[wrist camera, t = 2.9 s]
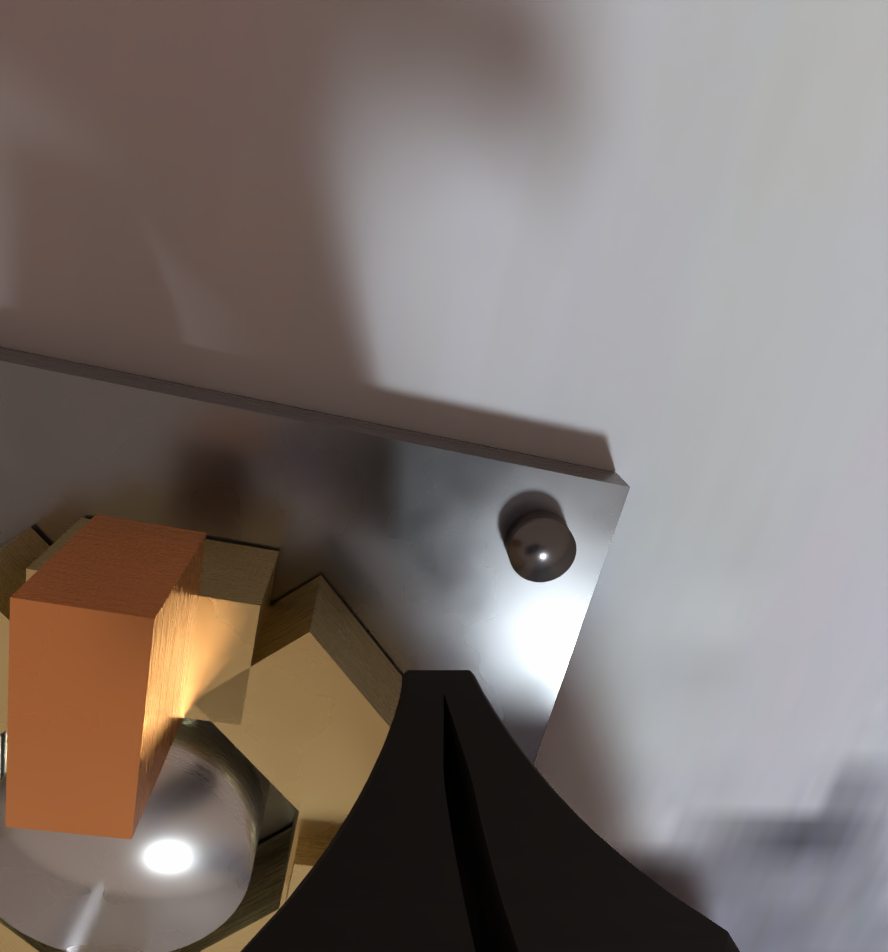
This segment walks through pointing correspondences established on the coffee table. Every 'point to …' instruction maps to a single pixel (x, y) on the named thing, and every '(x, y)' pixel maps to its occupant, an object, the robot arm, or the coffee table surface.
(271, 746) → the gold blocky ring
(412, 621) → the flange plate
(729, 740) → the coffee table surface
